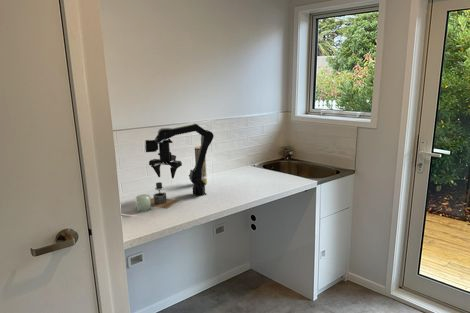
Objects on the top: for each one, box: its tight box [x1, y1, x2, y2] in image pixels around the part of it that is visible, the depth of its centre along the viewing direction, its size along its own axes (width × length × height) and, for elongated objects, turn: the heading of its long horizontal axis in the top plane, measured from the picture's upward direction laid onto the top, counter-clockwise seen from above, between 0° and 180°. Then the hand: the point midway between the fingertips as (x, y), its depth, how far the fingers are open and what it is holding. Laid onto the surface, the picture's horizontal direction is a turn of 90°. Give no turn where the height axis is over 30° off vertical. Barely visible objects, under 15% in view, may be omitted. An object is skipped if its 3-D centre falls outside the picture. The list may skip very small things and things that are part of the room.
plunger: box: [154, 181, 164, 195], centre depth 199 cm, size 4×4×7 cm
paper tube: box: [194, 145, 208, 185], centre depth 234 cm, size 7×7×25 cm
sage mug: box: [135, 193, 152, 213], centre depth 189 cm, size 7×9×8 cm
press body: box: [152, 192, 168, 205], centre depth 201 cm, size 7×8×5 cm
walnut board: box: [150, 197, 182, 209], centre depth 200 cm, size 18×14×1 cm
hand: (166, 177), depth 205 cm, fingers open, 9 cm apart
